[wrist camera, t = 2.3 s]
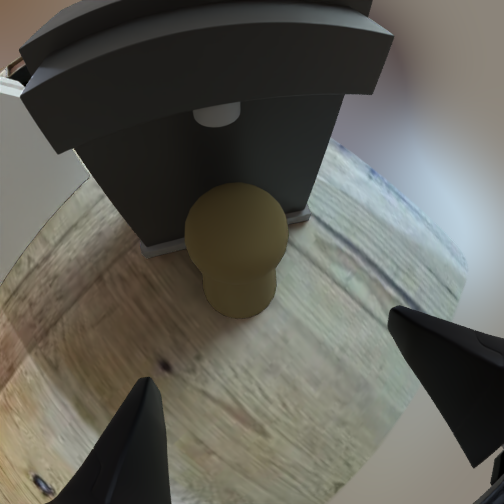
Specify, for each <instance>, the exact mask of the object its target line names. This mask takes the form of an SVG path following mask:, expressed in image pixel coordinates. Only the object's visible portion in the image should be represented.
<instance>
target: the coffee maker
mask: <svg viewBox="0 0 504 504" xmlns="http://www.w3.org/2000/svg"><path fill="white" fill-rule="evenodd" d="M371 5H372V0H82V1H80V2H77V3H75V4H73V5H71V6H69V7H67V8H65V9H63V10H61V11H60V12H59V13H57V14H56V15H55V16H54V17H53V18H51V19H50V20H49V21H48V22H47V23H46V24H45V25H43V26H42V27H41V28H40V29H39V30H38V31H37V32H36V33H35V34H34V35H33V36H32V37H31V38H30V39H29V40H28V41H27V42H26V43H25V44H24V45H23V46H22V47H21V48H20V49H19V52H20V54H21V56H22V58H23V60H24V62H25V64H26V66H27V68H28V70H29V72H30V74H31V76H32V78H31V79H30V81H29V82H28V84H27V85H26V87H25V88H24V90H23V92H22V93H21V95H20V99H21V101H22V102H23V104H24V105H25V107H26V109H27V110H28V112H29V113H30V115H31V117H32V118H33V120H34V121H35V123H36V124H37V126H38V127H39V129H40V130H41V132H42V133H43V135H44V136H45V138H46V139H47V140H48V142H49V143H50V145H51V146H52V148H53V149H54V150H55V152H56V153H57V154H58V155H59V154H61V153H64V152H66V151H68V150H70V149H73V148H74V149H75V151H76V152H77V154H78V155H79V157H80V158H81V160H82V161H83V163H84V164H85V166H86V167H87V169H88V170H89V171H90V173H91V174H92V176H93V177H94V179H95V180H96V181H97V183H98V184H99V186H100V187H101V188H102V190H103V191H104V193H105V194H106V195H107V197H108V198H109V199H110V201H111V202H112V203H113V205H114V206H115V207H116V209H117V210H118V211H119V213H120V214H121V215H122V217H123V218H124V219H125V221H126V222H127V223H128V224H129V226H130V227H131V228H132V230H133V231H134V232H135V233H136V235H137V236H138V237H139V238H140V242H141V251H142V255H143V256H144V257H145V258H151V257H154V256H158V255H162V254H166V253H170V252H174V251H178V250H182V249H186V245H185V241H184V240H185V221H186V219H187V216H188V214H189V211H190V209H191V207H192V206H193V205H194V204H195V202H196V201H197V200H198V199H199V197H201V196H202V195H203V194H205V193H206V192H208V191H209V190H211V189H212V188H214V187H216V186H219V185H222V184H226V183H237V182H241V183H246V184H251V185H255V186H257V187H259V188H261V189H263V190H264V191H266V192H268V193H269V194H270V195H271V196H272V197H273V198H274V199H275V200H276V201H277V202H278V203H279V204H280V206H281V208H282V209H283V211H284V213H285V215H286V219H287V225H288V224H293V223H297V222H301V221H306V220H309V218H310V216H311V211H310V209H309V207H308V204H307V201H308V199H309V196H310V193H311V191H312V188H313V185H314V182H315V180H316V177H317V174H318V171H319V168H320V166H321V163H322V160H323V157H324V154H325V151H326V149H327V146H328V143H329V140H330V137H331V134H332V131H333V128H334V125H335V122H336V119H337V116H338V113H339V110H340V107H341V104H342V101H343V98H344V95H345V94H362V95H372V94H373V92H374V89H375V87H376V84H377V82H378V79H379V76H380V74H381V71H382V69H383V66H384V64H385V61H386V58H387V56H388V53H389V50H390V47H391V45H392V42H393V39H394V35H393V34H391V33H390V32H388V31H387V30H386V29H384V28H383V27H381V26H380V25H378V24H377V23H375V22H374V21H372V20H371V19H369V18H368V15H369V12H370V8H371Z"/></svg>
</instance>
